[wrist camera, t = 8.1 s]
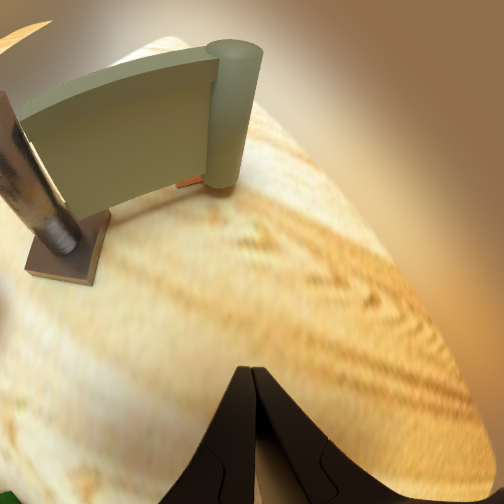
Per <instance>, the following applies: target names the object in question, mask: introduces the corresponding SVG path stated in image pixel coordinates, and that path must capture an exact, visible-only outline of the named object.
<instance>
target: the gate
mask: <svg viewBox="0 0 504 504" xmlns="http://www.w3.org/2000/svg"><path fill="white" fill-rule="evenodd" d="M262 57H263V50H262V49H261V48H260V47H259V46H257V45H255V44H253V43H250V42H246V41H241V40H232V39H231V40H230V39H228V40H217V41H214V42H211V43H209V44H208V45H207V46H203V47H196V48H189V49H183V50H177V51H172V52H167V53H162V54H157V55H153V56H148V57H144V58H140V59H136V60H132V61H129V62H125V63H122V64H118V65H115V66H112V67H108V68H105V69H102V70H99V71H97V72H94V73H91V74H88V75H85V76H83V77H80V78H77V79H75V80H73V81H70V82H67V83H65V84H63V85H60V86H58V87H56V88H53V89H51V90H49V91H47V92H45V93H43V94H41V95H39V96H37V97H35V98H33V99H31V100H29V101H27V102H25V103H24V106H23V110H22V114H21V118H20V123H21V126H22V128H23V130H24V132H25V134H26V136H27V138H28V140H29V142H32V144H33V145H34V147H35V149H36V151H37V153H38V155H39V157H40V159H41V161H42V162H43V164H44V166H45V168H46V170H47V171H48V173H49V175H50V177H51V178H52V180H53V182H54V184H55V185H56V187H57V189H58V190H59V192H60V193H61V195H62V197H63V198H64V200H65V202H66V203H67V205H68V206H69V208H70V209H71V211H72V212H73V214H74V215H75V217H76V218H77V220H78V221H79V220H82V219H84V218H86V217H89V216H91V215H93V214H96V213H98V212H100V211H103V210H105V209H108V208H110V207H112V206H115V205H117V204H120V203H123V202H125V201H128V200H130V199H133V198H136V197H138V196H141V195H144V194H146V193H149V192H152V191H154V190H157V189H160V188H163V187H166V186H169V185H172V184H175V183H178V182H181V181H184V180H187V179H190V178H193V177H196V176H199V175H200V177H201V179H202V181H203V182H204V183H205V184H206V185H208V186H210V187H213V188H219V189H221V188H227V187H230V186H232V185H233V184H235V183H236V181H237V180H238V177H239V172H240V166H241V161H242V156H243V150H244V145H245V140H246V135H247V130H248V124H249V119H250V114H251V109H252V104H253V100H254V94H255V89H256V85H257V80H258V75H259V71H260V66H261V61H262Z"/></svg>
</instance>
